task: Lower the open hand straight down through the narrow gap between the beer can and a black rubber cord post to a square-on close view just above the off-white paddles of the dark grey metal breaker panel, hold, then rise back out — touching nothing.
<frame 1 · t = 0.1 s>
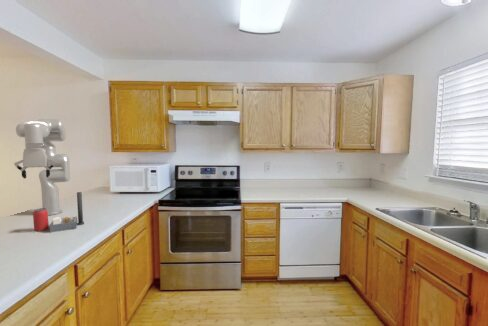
hand: (36, 177, 134), 31 cm above the table, fingers open, 9 cm apart
cord post: (80, 224, 152), on the table
breaker panel: (64, 227, 146), on the table
dust cap: (57, 223, 141), point 4 cm above the table, touching breaker panel
beer can: (41, 230, 142), on the table
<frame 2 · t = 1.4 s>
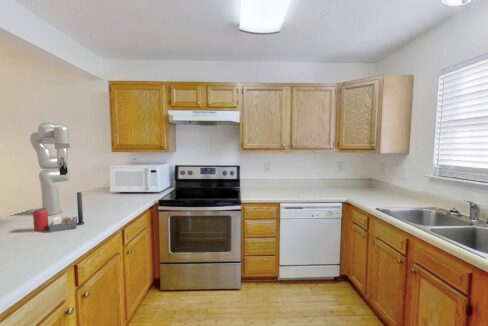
hand: (63, 174, 152), 31 cm above the table, fingers open, 9 cm apart
nothing on the table moved.
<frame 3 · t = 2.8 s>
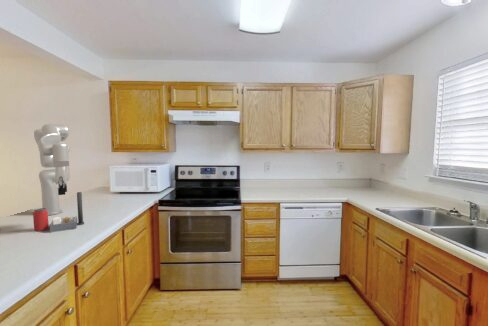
hand: (62, 193, 144), 21 cm above the table, fingers open, 9 cm apart
nothing on the table moved.
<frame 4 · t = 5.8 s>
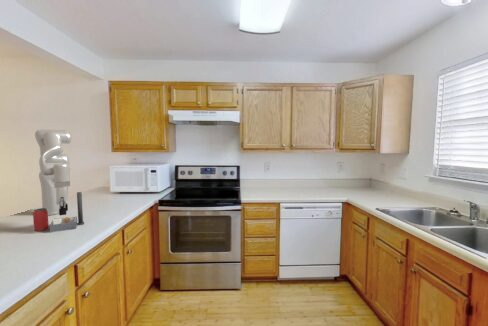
hand: (63, 212, 145), 9 cm above the table, fingers open, 9 cm apart
nothing on the table moved.
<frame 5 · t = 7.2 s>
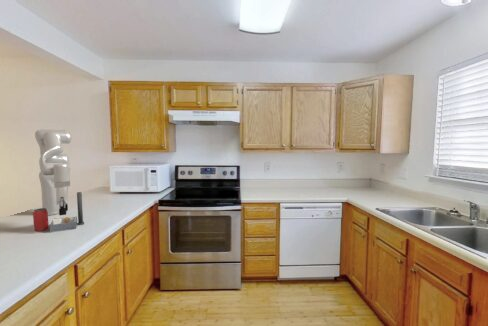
hand: (63, 212, 145), 9 cm above the table, fingers open, 9 cm apart
nothing on the table moved.
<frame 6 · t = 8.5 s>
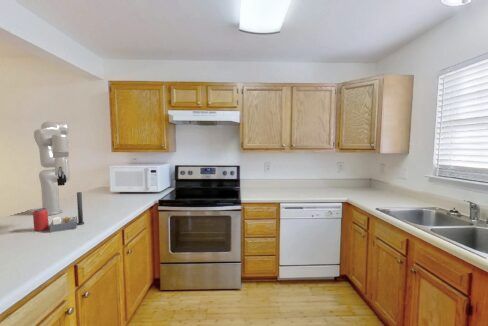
hand: (62, 184, 144), 26 cm above the table, fingers open, 9 cm apart
nothing on the table moved.
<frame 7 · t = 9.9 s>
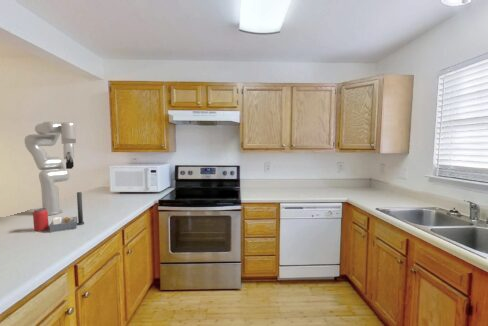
hand: (70, 168, 159), 34 cm above the table, fingers open, 9 cm apart
nothing on the table moved.
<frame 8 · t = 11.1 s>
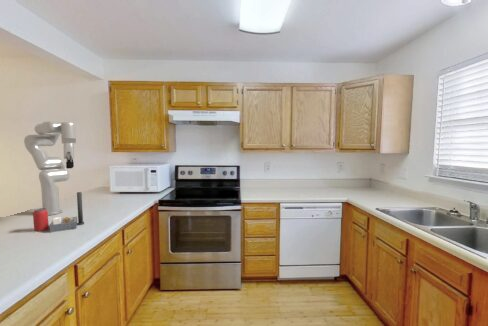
hand: (70, 167, 159), 34 cm above the table, fingers open, 9 cm apart
nothing on the table moved.
at the end: beer can moved 0.2 cm from its start; beer can tilted 0°; dust cap moved 0.0 cm from its start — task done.
